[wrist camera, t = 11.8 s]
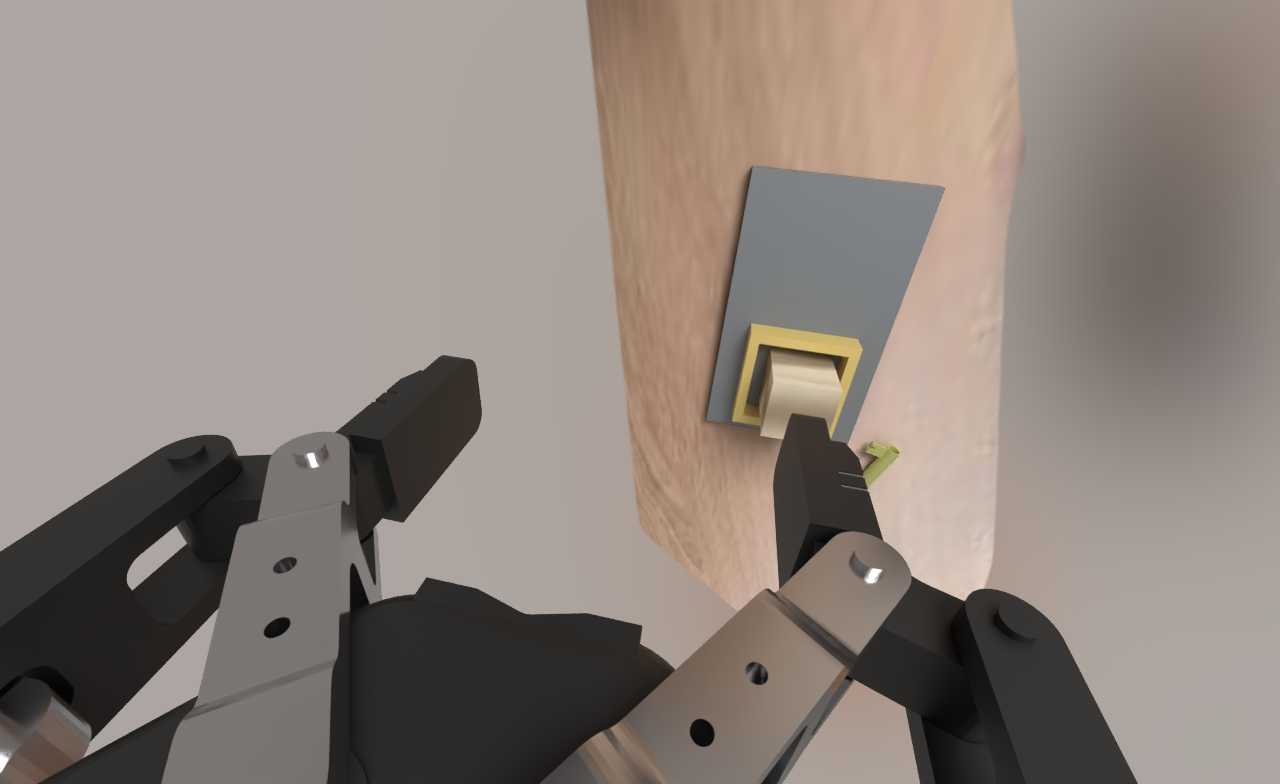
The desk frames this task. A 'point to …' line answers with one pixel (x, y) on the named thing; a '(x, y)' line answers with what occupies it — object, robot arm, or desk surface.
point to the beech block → (797, 389)
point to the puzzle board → (817, 282)
